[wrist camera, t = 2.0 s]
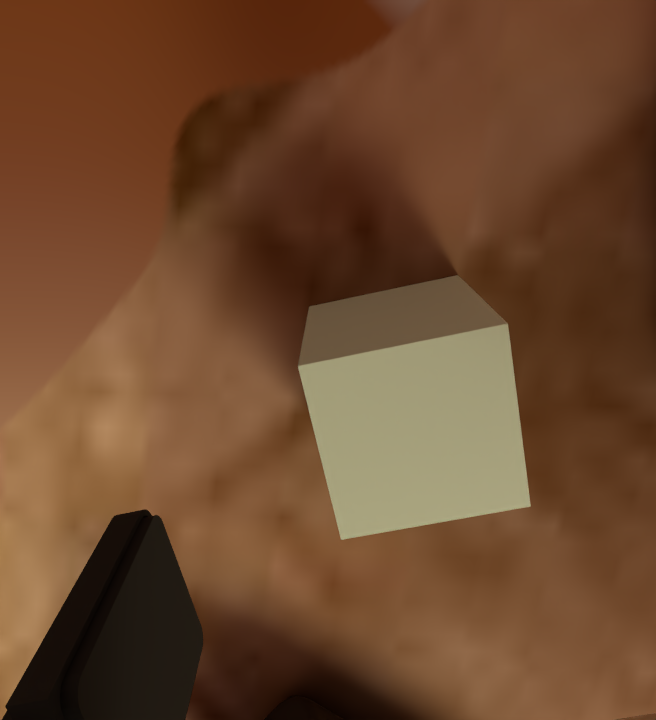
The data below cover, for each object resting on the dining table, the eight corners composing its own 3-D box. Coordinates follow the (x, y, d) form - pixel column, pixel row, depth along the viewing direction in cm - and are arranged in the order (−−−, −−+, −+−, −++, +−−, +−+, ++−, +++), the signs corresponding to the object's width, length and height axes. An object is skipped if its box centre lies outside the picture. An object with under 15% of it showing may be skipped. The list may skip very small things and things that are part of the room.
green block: (457, 274, 19) (508, 323, 14) (478, 411, 21) (530, 506, 15) (309, 306, 20) (297, 365, 14) (340, 437, 21) (341, 539, 16)
